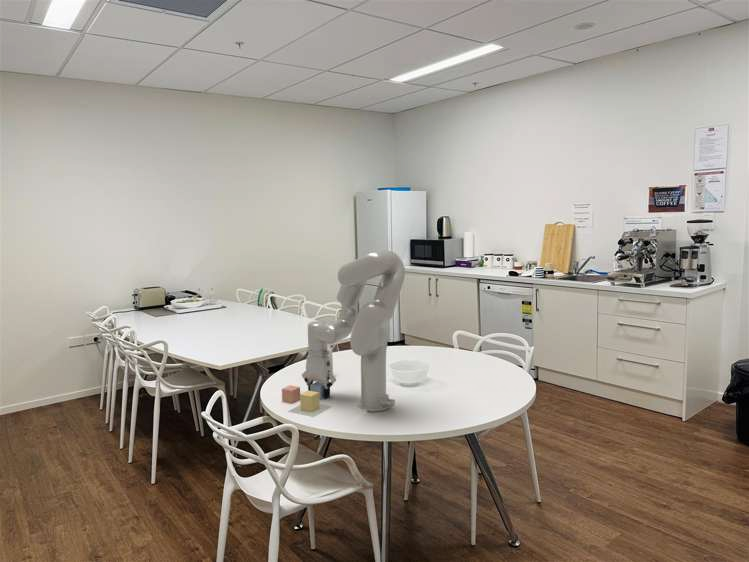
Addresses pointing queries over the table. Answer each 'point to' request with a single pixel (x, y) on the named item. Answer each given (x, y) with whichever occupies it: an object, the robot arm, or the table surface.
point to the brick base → (309, 401)
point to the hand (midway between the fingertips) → (319, 395)
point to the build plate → (312, 414)
